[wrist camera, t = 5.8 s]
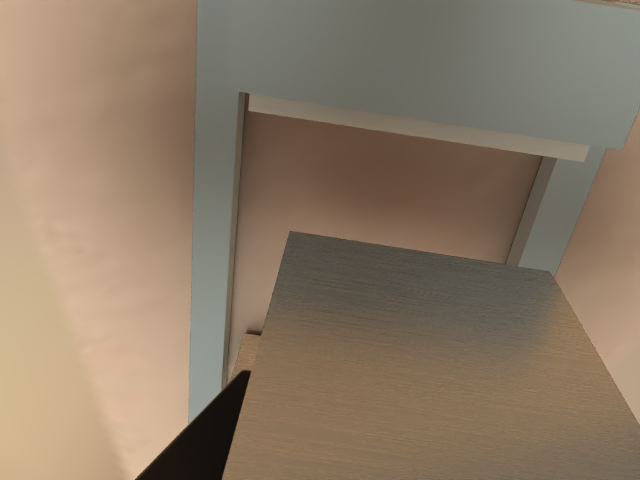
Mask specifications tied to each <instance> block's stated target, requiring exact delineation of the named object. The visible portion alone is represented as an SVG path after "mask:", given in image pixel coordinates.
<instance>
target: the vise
mask: <svg viewBox="0 0 640 480" xmlns="http://www.w3.org/2000/svg"><path fill="white" fill-rule="evenodd" d="M245 93H249V94H250V95H249V110H248V111H252V112H259V113H265V114H272V115H279V116H285V117H292V118H298V119H305V120H311V121H318V122H324V123H331V124H337V125H344V126H350V127H357V128H364V129H370V130H377V131H383V132H390V133H396V134H403V135H409V136H416V137H422V138H429V139H436V140H442V141H449V142H455V143H462V144H468V145H475V146H481V147H488V148H494V149H501V150H508V151H514V152H521V153H527V154H534V155H540V156H543V159H542V162H541V165H540V168H539V170H538V173H537V176H536V179H535V182H534V185H533V187H532V190H531V193H530V196H529V199H528V202H527V205H526V207H525V210H524V213H523V216H522V219H521V222H520V225H519V227H518V230H517V233H516V236H515V239H514V242H513V244H512V247H511V250H510V253H509V256H508V259H507V262H506V265H513V266H519V267H526V268H532V269H539V270H545V271H550V272H551V274H552V276H553V277H555V274H556V272H557V269H558V267H559V264H560V262H561V259H562V257H563V255H564V252H565V250H566V247H567V245H568V242H569V240H570V237H571V235H572V232H573V230H574V228H575V225H576V223H577V220H578V218H579V215H580V213H581V210H582V208H583V205H584V203H585V201H586V198H587V196H588V193H589V191H590V188H591V186H592V183H593V181H594V179H595V176H596V174H597V171H598V169H599V166H600V164H601V161H602V159H603V156H604V154H605V152H606V149H607V148H610V149H616V150H622V149H623V146H624V144H625V142H626V139H627V137H628V135H629V132H630V130H631V128H632V125H633V123H634V120H635V118H636V116H637V113H638V111H639V109H640V5H638V4H631V3H625V2H618V1H612V0H198V2H197V49H196V95H195V142H194V188H193V235H192V282H191V328H190V375H189V421H188V425H189V424H190V423H191V421H192V420H193V419H194V418H195V417H196V416H197V415H198V414H199V413H200V412H201V411H202V410H203V409H204V408H205V407H206V406H207V405H208V404H209V403H210V402H211V401H212V400H213V399H214V398H215V397H216V396H217V395H218V394H219V393H220V392H221V391H222V390H223V389H224V388H225V387H226V380H227V365H228V350H229V335H230V320H231V305H232V289H233V274H234V259H235V244H236V229H237V214H238V198H239V183H240V168H241V153H242V138H243V122H244V107H245Z"/></svg>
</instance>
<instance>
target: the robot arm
mask: <svg viewBox="0 0 640 480" xmlns="http://www.w3.org/2000/svg"><path fill="white" fill-rule="evenodd" d="M251 371H252V370H242V371H241V372H239V373H238V374H237V375H236V376H235V377H234V378H233V379H232V381H231V382H230V383H229V384H228V385H227V386H226V387H225V388H224V389H223V390H222V391H221V392H220V393H219V394H218V395H217V396H216V397H215V398H214V399H213V400H212V401H211V402H210V403H209V404H208V405H207V406H206V407H205V408H204V409H203V410H202V411H201V412H200V413H199V414H198V415H197V416H196V417H195V418H194V419H193V420H192V421H191V423H190V424H189V425H188V426H187V427H186V428H185V429H184V430H183V431H182V432H181V433H180V434H179V435H178V436H177V437H176V438H175V439H174V440H173V441H172V442H171V443H170V444H169V445H168V446H167V447H166V448H165V449H164V450H163V451H162V452H161V453H160V454H159V455H158V456H157V457H156V458H155V459H154V460H153V461H152V462H151V463H150V465H149V466H148V467H147V468H146V469H145V470H144V471H143V472H142V473H141V474H140V475H139V476H138V477H137V478H136V479H135V480H222V477H223V473H224V470H225V466H226V463H227V459H228V455H229V452H230V448H231V444H232V441H233V437H234V433H235V430H236V426H237V422H238V419H239V415H240V411H241V408H242V404H243V400H244V397H245V393H246V389H247V386H248V382H249V378H250V375H251Z"/></svg>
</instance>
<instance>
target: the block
mask: <svg viewBox="0 0 640 480" xmlns="http://www.w3.org/2000/svg"><path fill="white" fill-rule="evenodd" d="M222 480H640V425H639V423H638V422H637V420H636V418H635V417H634V415H633V413H632V411H631V410H630V408H629V406H628V405H627V403H626V401H625V399H624V398H623V396H622V394H621V392H620V391H619V389H618V388H617V386H616V384H615V382H614V381H613V379H612V377H611V375H610V374H609V372H608V370H607V368H606V367H605V365H604V363H603V362H602V360H601V358H600V356H599V355H598V353H597V351H596V350H595V348H594V346H593V344H592V343H591V341H590V339H589V337H588V336H587V334H586V332H585V331H584V329H583V327H582V325H581V324H580V322H579V320H578V319H577V317H576V315H575V313H574V312H573V310H572V308H571V307H570V305H569V303H568V301H567V300H566V298H565V296H564V294H563V293H562V291H561V289H560V288H559V286H558V284H557V282H556V281H555V279H554V277H553V276H552V274H551V272H550V271H545V270H539V269H532V268H526V267H519V266H513V265H506V264H500V263H493V262H487V261H480V260H474V259H467V258H461V257H455V256H448V255H442V254H435V253H429V252H422V251H416V250H409V249H403V248H396V247H390V246H384V245H377V244H371V243H364V242H358V241H351V240H345V239H338V238H332V237H325V236H319V235H312V234H306V233H300V232H293V231H290V232H289V236H288V239H287V243H286V247H285V250H284V254H283V258H282V261H281V265H280V269H279V272H278V276H277V280H276V283H275V287H274V291H273V294H272V298H271V302H270V305H269V309H268V313H267V316H266V320H265V323H264V327H263V331H262V334H261V338H260V342H259V345H258V349H257V353H256V356H255V360H254V364H253V367H252V371H251V375H250V378H249V382H248V386H247V389H246V393H245V397H244V400H243V404H242V408H241V411H240V415H239V419H238V422H237V426H236V430H235V433H234V437H233V441H232V444H231V448H230V452H229V455H228V459H227V463H226V466H225V470H224V473H223V477H222Z"/></svg>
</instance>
